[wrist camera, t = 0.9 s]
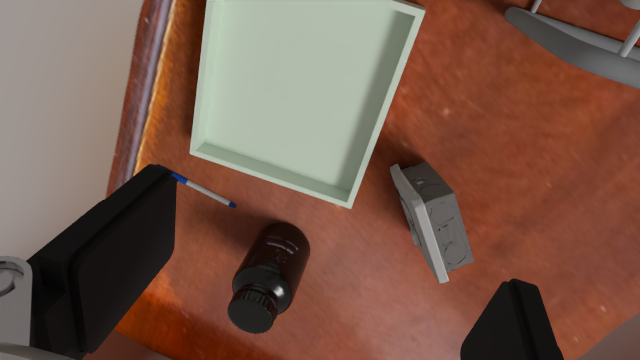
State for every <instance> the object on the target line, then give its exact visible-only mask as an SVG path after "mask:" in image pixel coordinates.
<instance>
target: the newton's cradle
mask: <svg viewBox="0 0 640 360" xmlns="http://www.w3.org/2000/svg"><path fill="white" fill-rule="evenodd" d="M541 1H542V0H536V1H535V3H534V5H533V7H532V9H531V11H527V10H524V9H521V8H517V7H510V8H508V9H507V10H506V12H505V19H506V21H507V22H509V23H510V24H512V25H513V26H514V27H516V28H517V29H519V30H520V31H521V32H523V33H524V34H526V35H527V36H529V37H530V38H531V39H533V40H534V41H536V42H537V43H538V44H540V45H541V46H543V47H544V48H545V49H547V50H548V51H550V52H551V53H552V54H554V55H555V56H557V57H558V58H560V59H562V60H563V61H566V62H568V63H570V64H572V65H574V66H577V67H579V68H581V69H584V70H586V71H589V72H591V73H594V74H597V75H600V76H602V77H605V78H608V79H611V80H614V81H617V82H620V83H623V84H626V85H629V86H632V87H635V88H638V89H640V48H639V47H636V46H633V45H634V44H635V43H636V41H637V40H638V38H639V37H640V19H639V21H638V22H637V24H636V25H635V27H634V28H633V30H632V31H631V33H630V34H629V36H628V38H627V39H626V41H625V42H621V41H618V40H615V39H612V38H609V37H606V36H603V35H600V34H597V33H594V32H591V31H588V30H585V29H582V28H579V27H576V26H573V25H570V24H567V23H564V22H561V21H558V20H555V19H552V18H548V17H545V16H542V15H539V14H536V13H535V12H536V10H537V8H538V6H539V4H540V3H541ZM619 1H620V2H621V3H622V4H623V5H625V6H627V7H629V8H631V9H636V10H640V0H619Z"/></svg>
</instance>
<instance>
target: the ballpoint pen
mask: <svg viewBox="0 0 640 360" xmlns="http://www.w3.org/2000/svg"><path fill="white" fill-rule="evenodd" d="M157 166H160V165H157ZM160 167H163V166H160ZM163 168H165V167H163ZM166 169H167V168H166ZM171 172H172V176H174V177H176V179H177V182H178V181H180V182H181V183H183V184H186V185H188V186H190V187H192V188H194V189H196V190H198V191H200V192H202V193H204V194H206V195H208V196H210V197H212V198H214V199H216V200H218V201H220V202H222V203H224V204H226V205H228V206H230V207H233V208H235V207H236V205H235V204H234V203H232V202H231V201H229V200H227V199H225V198H223V197H221V196H219V195H217V194H215V193H213V192H211V191H209V190H207V189H206V188H204V187H202V186H200V185H198V184H196V183H194V182H192V181H190V180H188V179H186V178H185V177H183V176H180V175H179V174H177V173H174V172H173V171H171Z"/></svg>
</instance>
